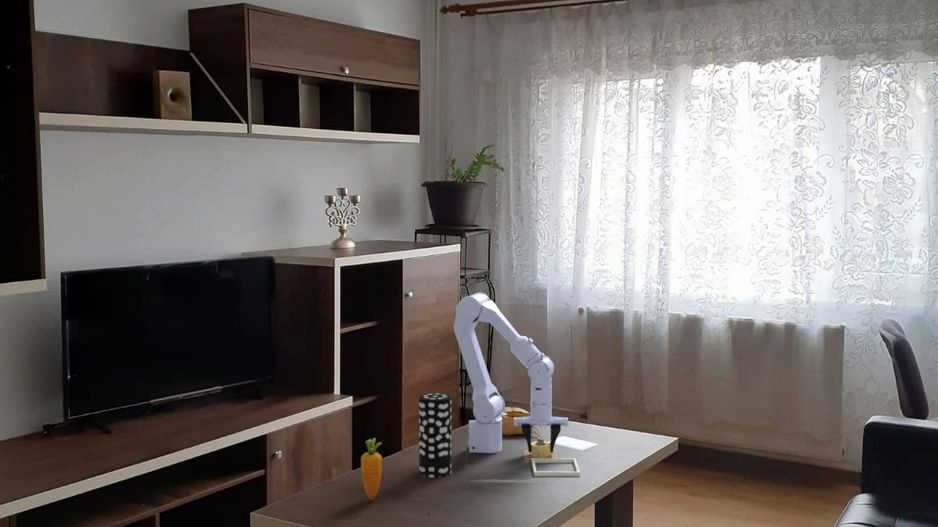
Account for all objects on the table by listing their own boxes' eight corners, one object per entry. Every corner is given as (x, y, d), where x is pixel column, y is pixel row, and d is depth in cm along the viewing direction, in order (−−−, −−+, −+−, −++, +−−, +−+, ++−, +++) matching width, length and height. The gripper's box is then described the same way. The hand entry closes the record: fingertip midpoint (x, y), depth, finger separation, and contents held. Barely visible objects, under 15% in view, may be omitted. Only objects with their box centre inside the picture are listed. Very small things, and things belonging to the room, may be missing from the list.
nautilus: (556, 441, 270) (518, 453, 261) (508, 421, 287) (470, 432, 277) (557, 415, 269) (518, 426, 259) (508, 396, 285) (470, 406, 276)
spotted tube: (447, 478, 235) (447, 400, 233) (415, 476, 237) (415, 399, 235) (454, 468, 243) (454, 393, 241) (423, 466, 245) (423, 391, 243)
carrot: (371, 495, 223) (371, 434, 221) (386, 499, 220) (386, 437, 218) (356, 500, 219) (356, 438, 217) (371, 505, 216) (371, 442, 214)
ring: (531, 459, 248) (531, 448, 248) (530, 451, 255) (530, 441, 255) (551, 459, 248) (551, 448, 248) (549, 452, 255) (549, 441, 255)
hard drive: (546, 441, 264) (582, 449, 256) (563, 435, 271) (599, 443, 262) (546, 447, 265) (582, 455, 256) (563, 441, 271) (599, 449, 263)
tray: (534, 478, 235) (534, 471, 235) (531, 464, 247) (531, 458, 246) (580, 479, 235) (580, 472, 235) (575, 464, 246) (575, 458, 246)
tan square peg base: (524, 462, 248) (524, 443, 248) (523, 452, 257) (523, 434, 257) (558, 462, 248) (558, 443, 248) (555, 452, 257) (555, 434, 257)
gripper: (514, 405, 247) (514, 455, 249) (569, 406, 247) (568, 456, 248) (513, 399, 254) (513, 448, 256) (566, 399, 254) (566, 448, 255)
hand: (540, 451), depth 252 cm, fingers closed on ring, 5 cm apart
